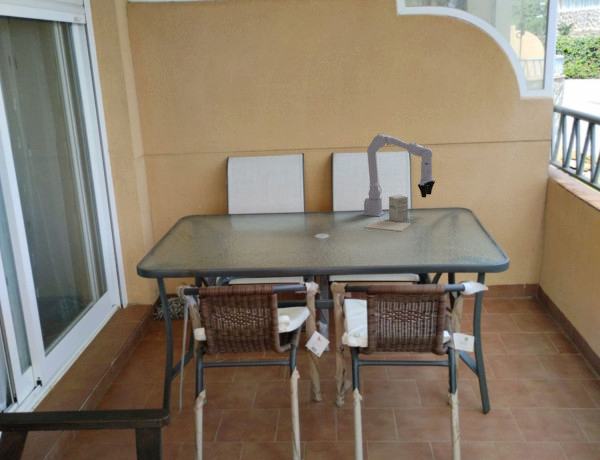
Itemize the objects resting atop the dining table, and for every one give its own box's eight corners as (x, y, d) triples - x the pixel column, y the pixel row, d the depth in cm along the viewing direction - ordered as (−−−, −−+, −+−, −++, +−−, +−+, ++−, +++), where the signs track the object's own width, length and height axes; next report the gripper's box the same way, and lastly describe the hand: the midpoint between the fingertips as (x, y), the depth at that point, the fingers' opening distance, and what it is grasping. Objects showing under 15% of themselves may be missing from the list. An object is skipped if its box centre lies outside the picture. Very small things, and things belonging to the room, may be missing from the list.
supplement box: (388, 219, 320) (388, 196, 317) (400, 217, 323) (400, 194, 320) (396, 222, 314) (396, 198, 310) (408, 220, 317) (408, 196, 313)
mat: (364, 227, 307) (364, 226, 307) (376, 220, 318) (375, 220, 318) (401, 231, 297) (401, 230, 297) (411, 224, 308) (411, 223, 308)
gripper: (429, 173, 311) (428, 199, 315) (438, 168, 323) (438, 193, 326) (416, 173, 315) (416, 198, 318) (425, 168, 326) (425, 192, 330)
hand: (426, 195), depth 323 cm, fingers open, 7 cm apart
